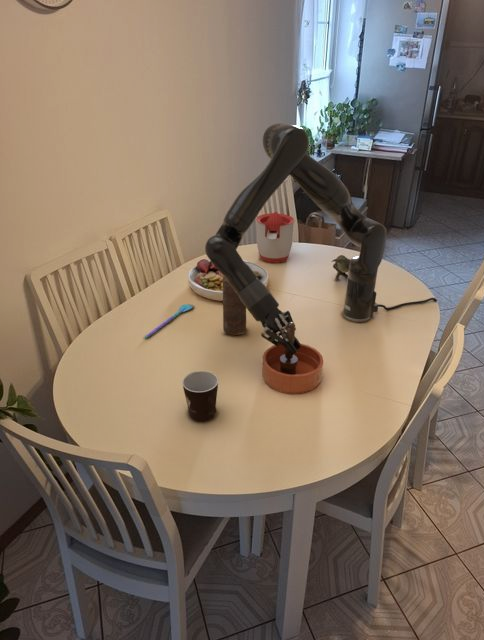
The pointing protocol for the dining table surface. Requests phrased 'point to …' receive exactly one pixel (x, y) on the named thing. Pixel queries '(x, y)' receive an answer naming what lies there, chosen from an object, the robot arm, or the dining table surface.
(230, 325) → the candle
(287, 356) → the tamper
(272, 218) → the citrus juicer
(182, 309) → the spoon
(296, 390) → the basin
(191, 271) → the bowl
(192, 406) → the coffee mug
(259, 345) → the dining table surface
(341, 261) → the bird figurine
